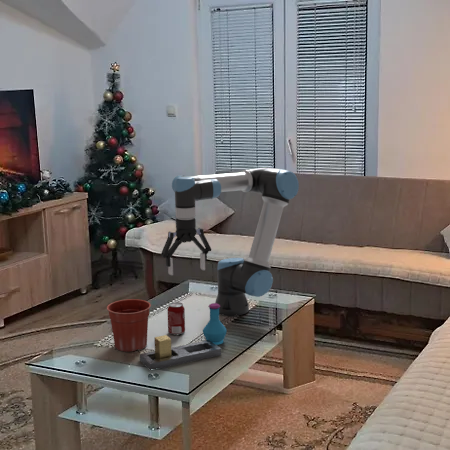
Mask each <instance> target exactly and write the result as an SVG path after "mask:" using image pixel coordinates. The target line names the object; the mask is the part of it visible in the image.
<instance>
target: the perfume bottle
mask: <svg viewBox="0 0 450 450" xmlns="http://www.w3.org/2000/svg"><path fill="white" fill-rule="evenodd" d="M219 307H220V305H219V304H217V303H215V302H214V303H210V304H209V305H208V310H209V321H208V322H207V324H206V325H205V326H204V328H203V329H202V335H203V336H204V338H205V341H206V340H210V341H211V342H213V343H214V344H215V345H217V346H218V345H222V344H223V343H224V340H225V337H226V335H227V332H228V331H227V328H226V326H225V325H224V324H223V323H222V322H221V320H220V314H219V309H220V308H219Z"/></svg>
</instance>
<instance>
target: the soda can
mask: <svg viewBox="0 0 450 450" xmlns="http://www.w3.org/2000/svg"><path fill="white" fill-rule="evenodd" d="M166 309H167V311H166V312H167V327H168V328H167V332H168V334H170V335H172V334H175V335H174V336H178V335H177V334H181V335H182V334H184V333H185V331H186V319H185V318H186V317H185V316H186V315H185V307H184V305H183V302H179V301H178V302H177V301H175V302H170V303H169V304H168V307H167V308H166Z"/></svg>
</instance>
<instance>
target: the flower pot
mask: <svg viewBox="0 0 450 450" xmlns="http://www.w3.org/2000/svg"><path fill="white" fill-rule="evenodd" d="M151 306H152V304H151V303H150V302H149V301H147V300H144V299H137V298H129V299H121V300H115V301H113V302H111V303H109V304H108V305H107V306H106V309H107V311H108V317H109V319H110V322H111V323H110V324H111V331H112V337H113V343H114V348H115V349H116V350H118V351H121V352H125V353H126V352H127V353H128V352H129V353H130V352H136V351H137V350H140V351H141V350H143V349H144V348H146V347H147V345H148V331H149V330H148V327H149V316H150V308H151Z"/></svg>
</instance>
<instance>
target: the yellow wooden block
mask: <svg viewBox="0 0 450 450" xmlns="http://www.w3.org/2000/svg"><path fill="white" fill-rule="evenodd" d="M171 348H172V339H171V338H170V337H169V336H168V335H167V334H165V335H158V336H154V351H155V360H159V359H164V358H169V357H173V356H172V355H171ZM155 360H154V361H155Z"/></svg>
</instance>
